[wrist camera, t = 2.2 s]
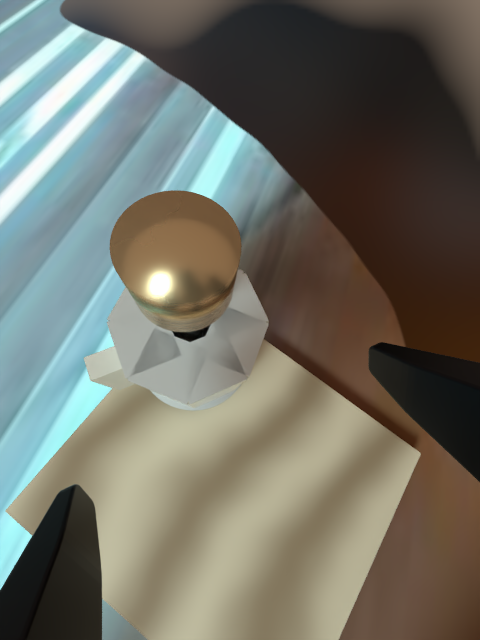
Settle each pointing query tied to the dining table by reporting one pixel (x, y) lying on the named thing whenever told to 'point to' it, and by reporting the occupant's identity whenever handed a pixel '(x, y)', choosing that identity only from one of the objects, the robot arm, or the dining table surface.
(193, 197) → the plunger
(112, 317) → the white faceted container
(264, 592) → the birch board
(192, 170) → the dining table surface
